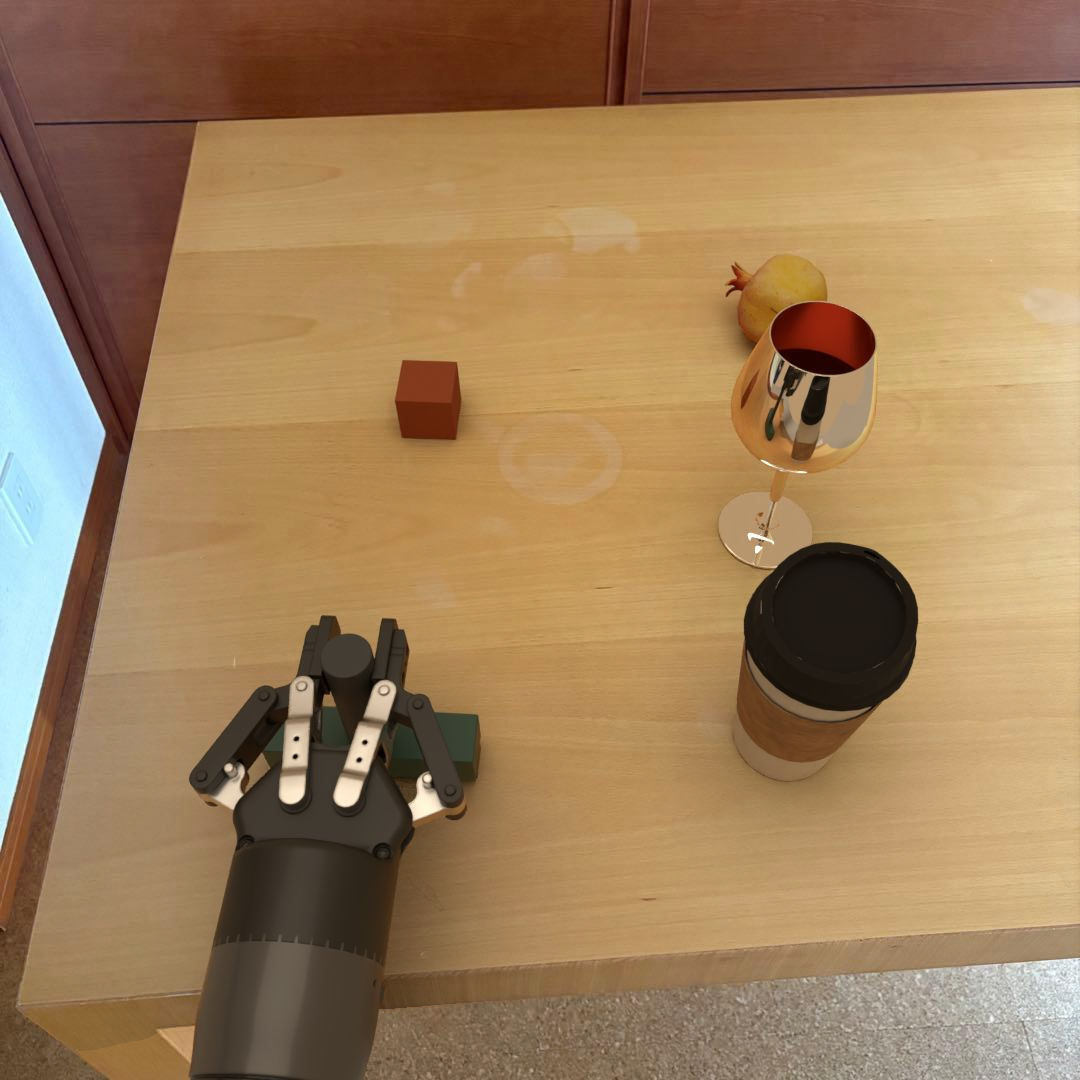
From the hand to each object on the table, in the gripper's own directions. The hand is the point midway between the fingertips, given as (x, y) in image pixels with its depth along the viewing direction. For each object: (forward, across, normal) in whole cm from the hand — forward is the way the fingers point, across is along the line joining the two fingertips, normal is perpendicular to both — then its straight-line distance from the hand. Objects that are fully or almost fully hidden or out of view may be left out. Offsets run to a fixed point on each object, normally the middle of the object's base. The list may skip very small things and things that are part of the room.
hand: (360, 625), depth 54 cm
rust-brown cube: (+23, 0, +10) cm, 25 cm away
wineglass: (+14, -24, +10) cm, 30 cm away
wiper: (-3, 0, +10) cm, 11 cm away
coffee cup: (-1, -24, +10) cm, 26 cm away
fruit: (+33, -26, +10) cm, 44 cm away
